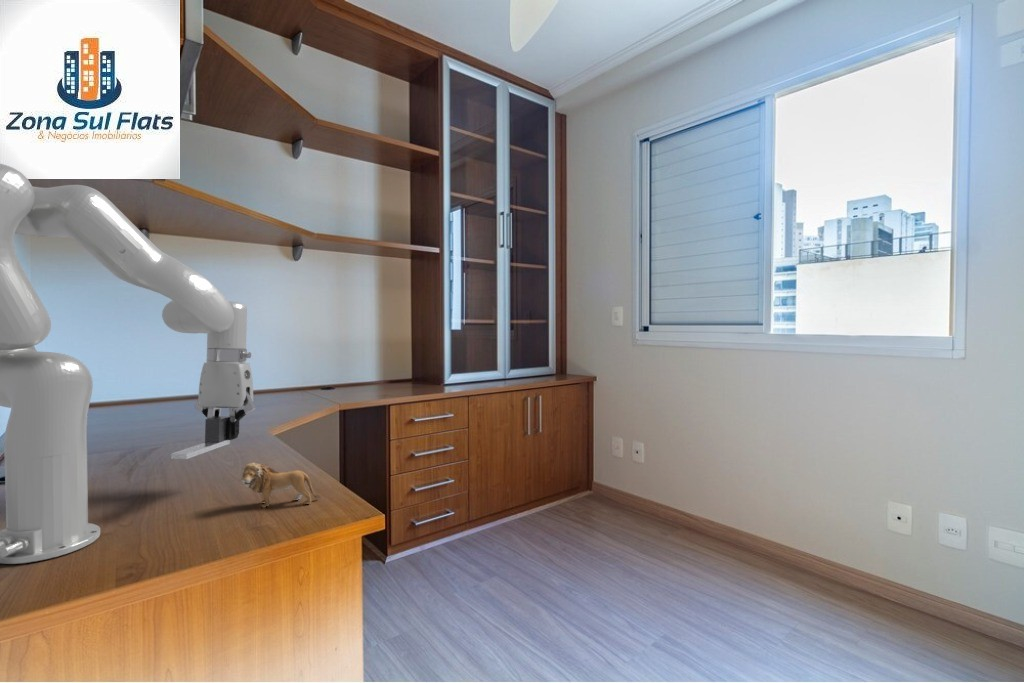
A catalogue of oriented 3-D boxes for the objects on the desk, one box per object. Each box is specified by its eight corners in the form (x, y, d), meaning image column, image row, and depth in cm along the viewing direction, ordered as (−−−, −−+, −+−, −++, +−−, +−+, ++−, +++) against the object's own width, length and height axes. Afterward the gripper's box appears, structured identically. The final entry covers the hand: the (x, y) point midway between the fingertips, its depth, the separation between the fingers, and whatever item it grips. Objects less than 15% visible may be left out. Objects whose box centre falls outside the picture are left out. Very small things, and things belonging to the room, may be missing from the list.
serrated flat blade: (216, 443, 106) (217, 416, 106) (229, 443, 106) (230, 416, 106) (170, 458, 92) (171, 427, 92) (186, 459, 92) (187, 428, 92)
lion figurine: (238, 513, 92) (238, 467, 91) (243, 503, 97) (242, 460, 96) (320, 504, 97) (320, 460, 97) (320, 495, 102) (320, 454, 102)
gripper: (271, 357, 110) (269, 436, 110) (201, 355, 110) (199, 434, 110) (253, 358, 102) (251, 443, 102) (178, 356, 102) (176, 441, 102)
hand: (224, 437), depth 106 cm, fingers closed on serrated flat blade, 3 cm apart
